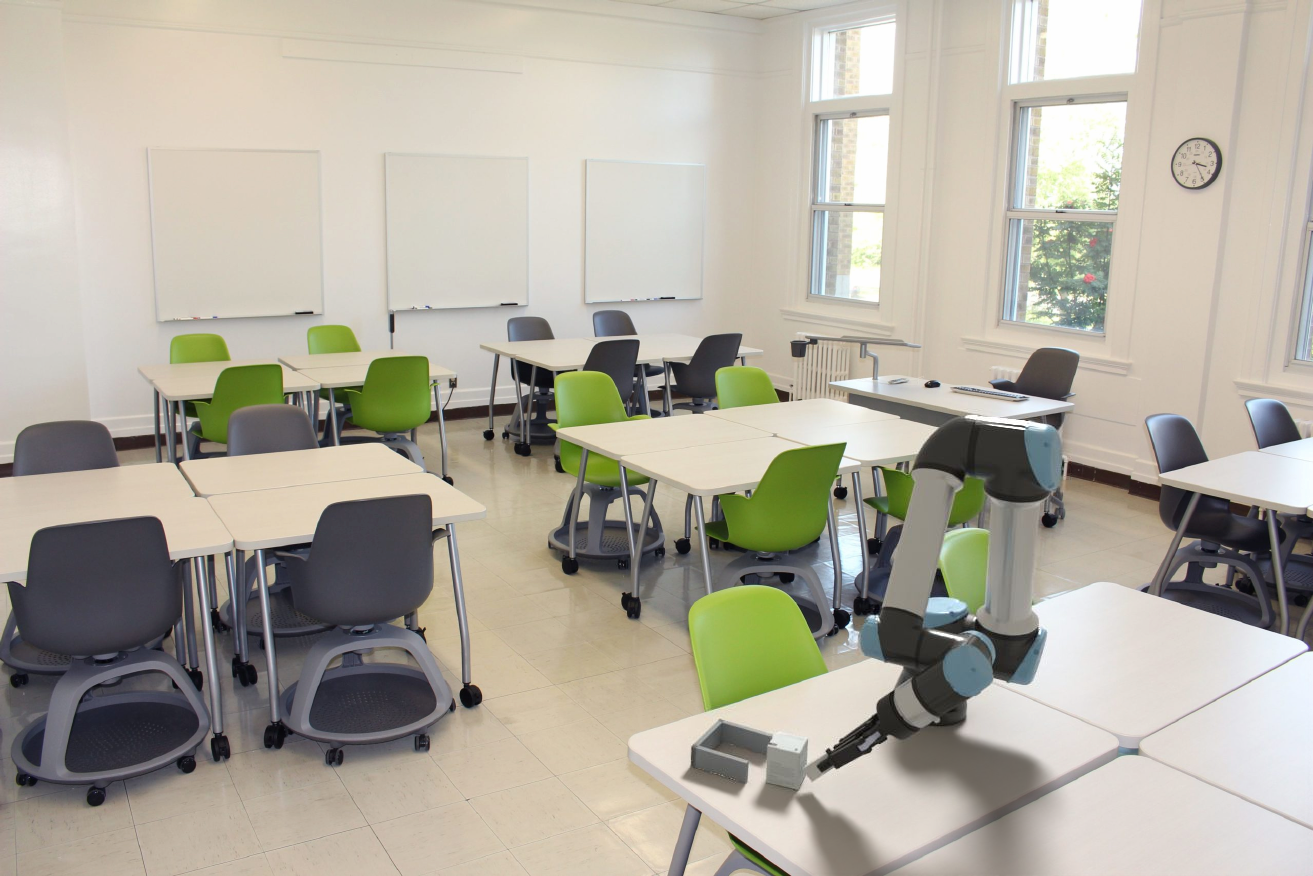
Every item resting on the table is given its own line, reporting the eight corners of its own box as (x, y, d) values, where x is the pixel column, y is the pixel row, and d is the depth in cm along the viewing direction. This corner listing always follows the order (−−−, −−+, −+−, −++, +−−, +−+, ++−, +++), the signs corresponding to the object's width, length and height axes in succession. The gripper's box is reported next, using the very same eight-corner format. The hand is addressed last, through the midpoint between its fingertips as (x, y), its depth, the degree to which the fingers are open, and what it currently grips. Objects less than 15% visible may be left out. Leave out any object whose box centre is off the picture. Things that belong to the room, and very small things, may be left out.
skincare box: (806, 774, 183) (809, 737, 182) (797, 791, 178) (800, 753, 176) (774, 766, 186) (776, 730, 184) (764, 782, 180) (766, 745, 179)
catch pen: (718, 737, 195) (719, 719, 194) (771, 753, 190) (772, 734, 189) (690, 766, 185) (691, 746, 184) (745, 783, 180) (746, 763, 179)
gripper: (912, 745, 161) (809, 809, 172) (932, 711, 172) (834, 774, 184) (881, 706, 162) (781, 773, 174) (903, 675, 174) (807, 740, 185)
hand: (808, 773), depth 179 cm, fingers closed
